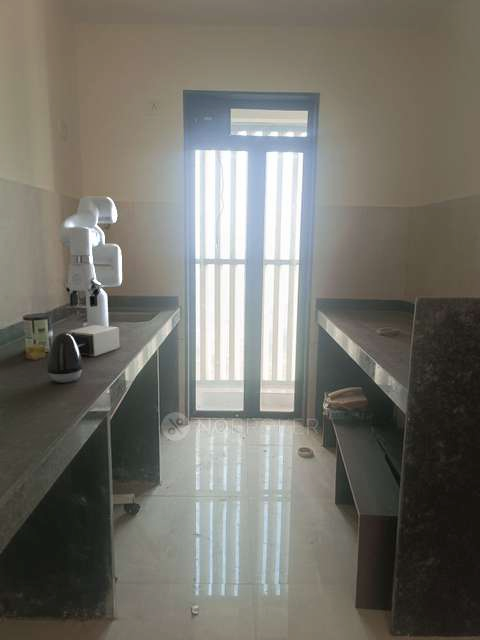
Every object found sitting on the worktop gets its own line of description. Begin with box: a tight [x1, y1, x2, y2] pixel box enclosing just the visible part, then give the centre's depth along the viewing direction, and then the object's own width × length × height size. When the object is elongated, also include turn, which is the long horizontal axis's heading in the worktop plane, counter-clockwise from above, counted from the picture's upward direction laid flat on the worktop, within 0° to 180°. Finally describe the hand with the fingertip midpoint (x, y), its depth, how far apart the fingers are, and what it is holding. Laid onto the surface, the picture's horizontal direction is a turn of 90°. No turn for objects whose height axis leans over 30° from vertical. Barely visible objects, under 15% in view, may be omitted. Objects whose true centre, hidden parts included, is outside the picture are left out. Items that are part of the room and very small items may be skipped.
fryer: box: [67, 325, 121, 357], centre depth 166 cm, size 15×13×9 cm
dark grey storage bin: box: [70, 334, 93, 356], centre depth 161 cm, size 19×11×7 cm, turn 157°
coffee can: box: [22, 312, 54, 353], centre depth 165 cm, size 10×10×14 cm
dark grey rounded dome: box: [46, 332, 84, 384], centre depth 129 cm, size 10×10×15 cm
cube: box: [25, 344, 46, 361], centre depth 155 cm, size 4×4×4 cm
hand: (84, 305), depth 158 cm, fingers open, 9 cm apart
